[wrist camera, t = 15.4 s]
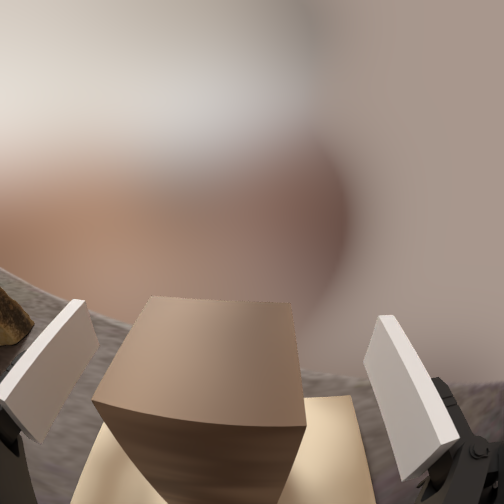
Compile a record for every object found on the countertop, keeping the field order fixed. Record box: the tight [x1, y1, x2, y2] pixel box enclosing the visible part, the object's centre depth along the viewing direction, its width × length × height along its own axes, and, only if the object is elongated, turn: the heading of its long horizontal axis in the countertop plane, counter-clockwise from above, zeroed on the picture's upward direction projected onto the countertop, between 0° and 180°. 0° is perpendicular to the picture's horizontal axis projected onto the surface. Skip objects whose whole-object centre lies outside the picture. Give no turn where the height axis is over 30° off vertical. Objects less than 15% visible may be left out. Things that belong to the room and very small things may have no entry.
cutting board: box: [70, 395, 376, 504], centre depth 12 cm, size 16×12×2 cm
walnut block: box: [91, 296, 307, 504], centre depth 9 cm, size 5×5×10 cm
